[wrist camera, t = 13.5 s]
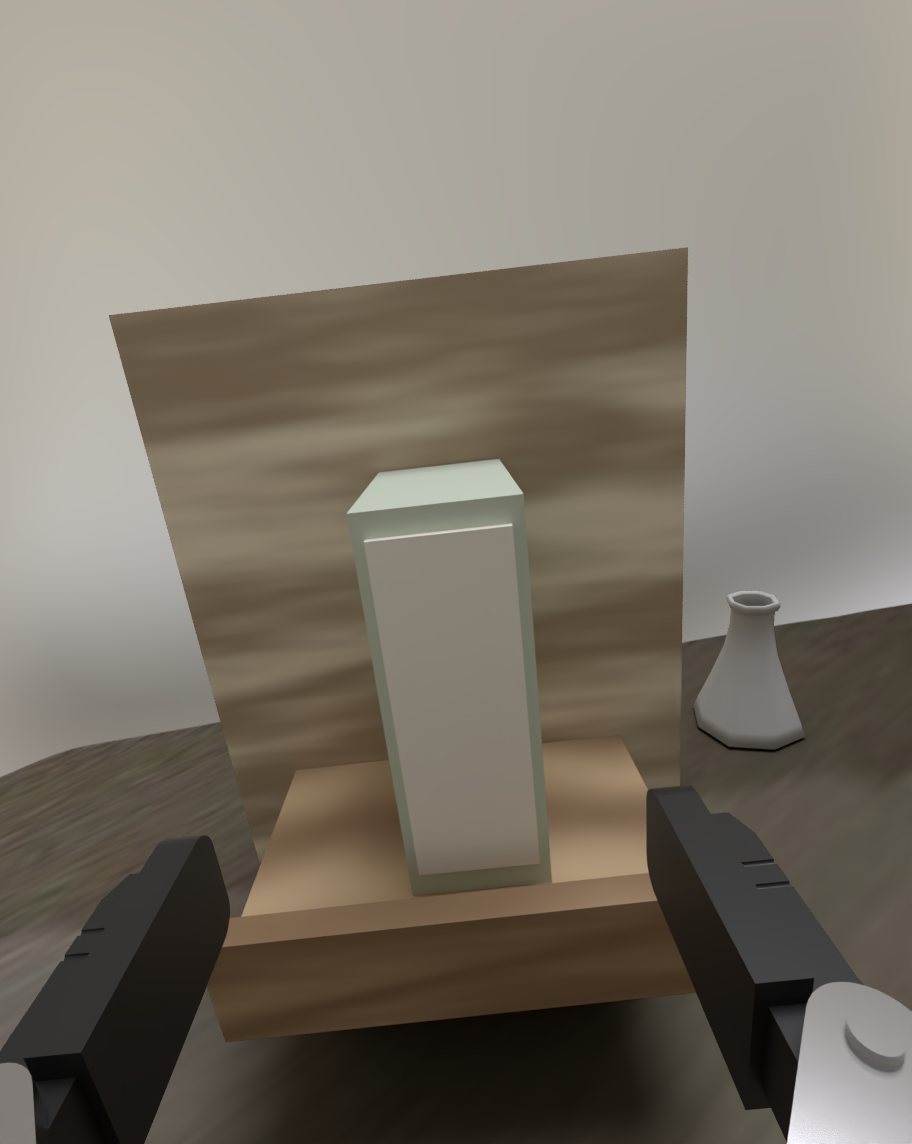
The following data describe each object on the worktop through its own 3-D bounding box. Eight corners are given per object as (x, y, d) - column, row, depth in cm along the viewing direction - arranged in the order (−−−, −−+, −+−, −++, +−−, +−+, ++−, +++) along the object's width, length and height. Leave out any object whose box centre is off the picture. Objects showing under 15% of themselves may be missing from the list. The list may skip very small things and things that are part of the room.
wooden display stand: (801, 1121, 20) (923, 115, 11) (188, 1185, 20) (-202, 249, 11) (635, 785, 37) (629, 280, 28) (303, 821, 38) (186, 332, 28)
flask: (722, 759, 39) (728, 625, 36) (677, 704, 46) (678, 587, 43) (826, 746, 39) (841, 611, 36) (765, 692, 46) (773, 575, 43)
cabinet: (553, 889, 20) (525, 495, 16) (412, 902, 20) (344, 515, 16) (523, 746, 28) (498, 458, 24) (421, 757, 28) (379, 472, 24)
